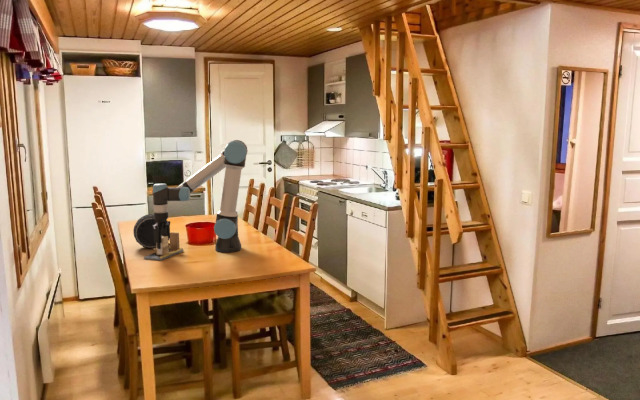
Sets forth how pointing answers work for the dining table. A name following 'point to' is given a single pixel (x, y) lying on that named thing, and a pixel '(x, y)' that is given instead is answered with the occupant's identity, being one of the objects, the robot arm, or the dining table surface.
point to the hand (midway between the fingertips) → (162, 253)
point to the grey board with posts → (173, 249)
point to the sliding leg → (163, 245)
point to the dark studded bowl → (145, 231)
